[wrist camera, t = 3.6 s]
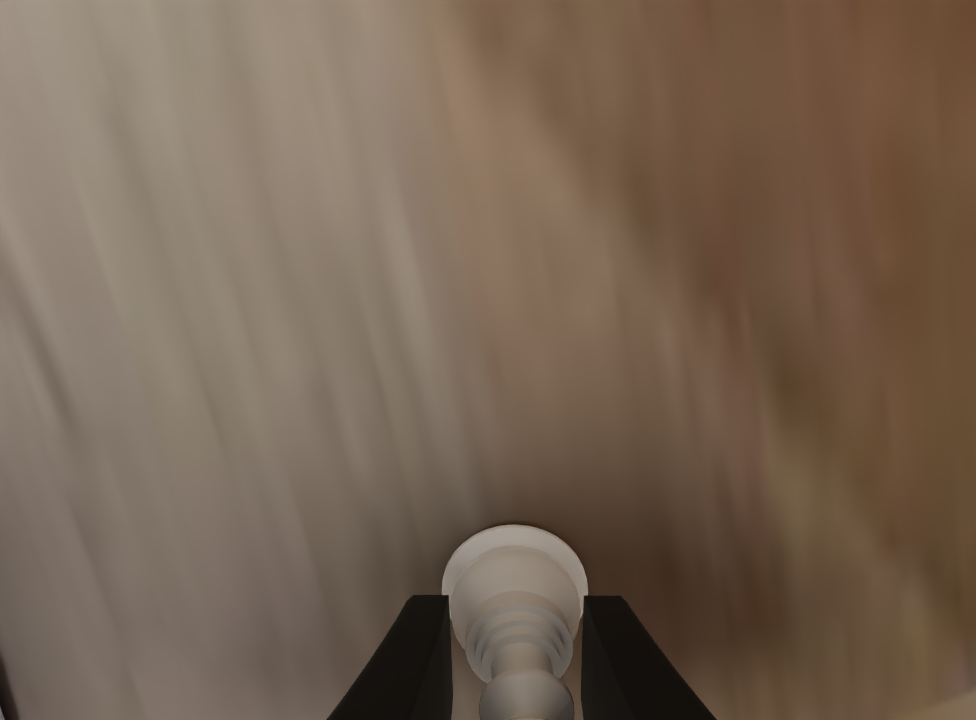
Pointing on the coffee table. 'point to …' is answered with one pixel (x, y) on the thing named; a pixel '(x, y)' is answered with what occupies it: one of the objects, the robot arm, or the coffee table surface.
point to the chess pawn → (517, 618)
